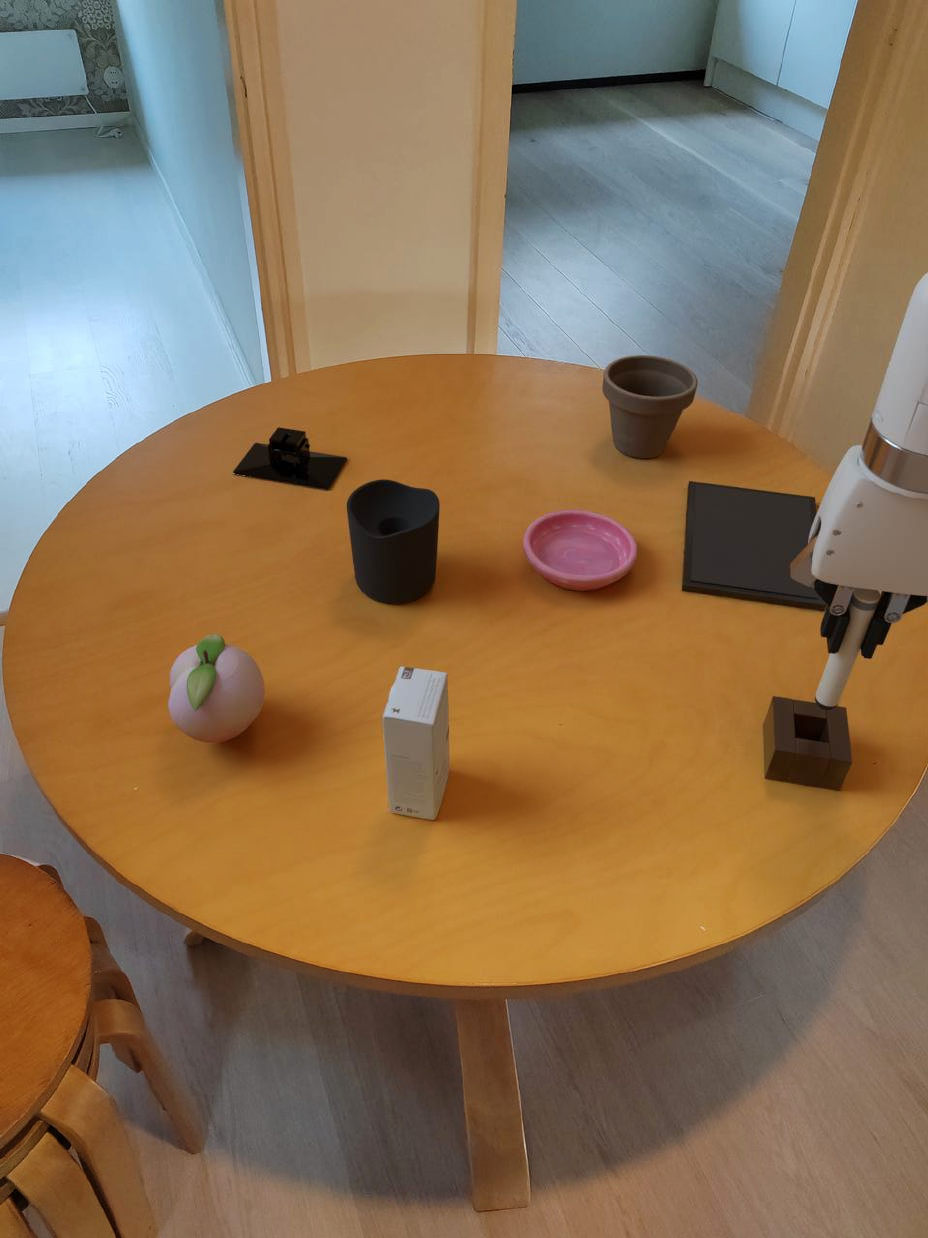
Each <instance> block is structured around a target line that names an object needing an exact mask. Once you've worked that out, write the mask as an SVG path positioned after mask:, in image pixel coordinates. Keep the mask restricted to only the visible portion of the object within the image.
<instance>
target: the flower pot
mask: <svg viewBox="0 0 928 1238" xmlns="http://www.w3.org/2000/svg"><path fill="white" fill-rule="evenodd" d="M602 378H603V379H602V394H603V395H604V397H605V399H606V400H607V401H608V406H609V415H610V427H611V434H612V435H611V436H612V441H613V446H614V447H615V448H616V450H617V451H618V452H620V453H621V454H623V455H626V456H628V457H631V458H636V459H650V458H654V457H657V456H659V455H660V454H662V452H663V451H664V450H665V448H666V447H667V444H668V443H669V441H670V439H671V437H672V435H673V432H674V431H675V428H676V427H677V424H678V422H679V420H680V418H681V415H682V413H683V411H684V410H686V409H688V408H689V407H690V406H691V405H692V404H693V402H694V399H695V397H696V392H697V388H698V383H699V381H698V378H697V375H696V374H695V373H694V372H693V371H692V370H691V368H689V367H687V366H686V365H684V364H682V363H680V362H678V361H676V360H674V359H670V358H666V357H662V356H655V355H645V354H636V355H627V356H623V357H620V358H617V359H615V360H613V361H612V362H610V363H608V364H607V366H606V367H605V369H604V371H603V377H602Z"/></svg>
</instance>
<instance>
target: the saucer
mask: <svg viewBox="0 0 928 1238" xmlns="http://www.w3.org/2000/svg"><path fill="white" fill-rule="evenodd" d="M522 550H523V554H524V556H525V558H526V560H527V562H528V563H529V564H530V566H531V567H532V568H533V569H534V570H535V571H536V573H538V574H540V575H541V576H542V577H543V578H544V579H545V580H547V581H548V582H549V583H552V584H553V585H555V586H557V587H560V588H563V589H565V590H566V589H567V590H572V591H593V590H598V589H602V588H605V587H606V586H608V585H611V584H613V583H615V582H617V581H618V580H620V579H621V578H623V577H624V576H626V575H627V574H628V573H629V572H630V571H631V570H632V568H633V567H634V566H635V563H636V560H637V556H638V545H637V541H636V539H635V537H634V535H633V534H632V533H631V531H630V530H629V529H628V528H627V527H626V526H624V525H623V524H621V523H620V522H619V521H617V520H615V519H613V518H612V517H610V516H607V515H605V514H602V513H598V512H595V511H590V510H585V509H562V510H556V511H552V512H549V513H546V514H544V515H541V516H540V517H538V518H537V519H535V520H534V521H532V522H531V523H530V524H529V526H528V527H527V528H526V530H525V532H524V534H523V540H522Z"/></svg>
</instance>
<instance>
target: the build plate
mask: <svg viewBox="0 0 928 1238" xmlns="http://www.w3.org/2000/svg"><path fill="white" fill-rule="evenodd" d="M306 433H307V432H306V431H304V430H299V429H294V428H293V429H291V428H285V427H280V426H279V427H276V429H275V431H274V432H273V433H272V434H271V436H270V437H269V438H268V442H269V443H268V444H267V443H262V442H261V443H260V442H254V443H253V445H252V446H251V447H250V449H249V450H248V451H247V452H246V454H245V455H244V456H243V457H242V459H241V460H240V462H239V463H238V464H237V466H236V467H235V468H234V470H233V471H232V472H233V473H235V474H239V475H245V476H249V477H248V478H251V477H253V478H252V479H257V478H259V479H258V480H263V479H264V480H263V481H269V480H270V482H275V483H281V484H287V485H293V486H299V487H305V488H311V489H317V490H323V491H329V490H330V489H331V488H332V486H333V485H334V482H335V481H336V479H337V478H338V476H339V474H341V471H342V470H343V468H344V467H345V465H346V463H347V461H348V457H347V456H343V455H342V456H341V455H336V454H330V453H323V452H318V451H317V452H316V451H311V450H310V448H311V444H310V441H309V437H307V434H306ZM239 475H238V476H239ZM245 476H244V477H245ZM250 476H251V477H250ZM254 477H255V478H254Z"/></svg>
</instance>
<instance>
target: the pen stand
mask: <svg viewBox="0 0 928 1238" xmlns="http://www.w3.org/2000/svg"><path fill="white" fill-rule="evenodd" d="M848 719H849V718H848V710H847V707H846V706H841V705H837V707H835V708H834V709H832V710H824V709H821V708H820V707H819V706H818V705H817V704H816V702H815V701H814V702H813V701H807V700H801V699H794V698H789V697H782V696H776V695H773V696H772V697H771V700H770V704H769V706H768V709H767V711H766V715H765V718H764V721H763V725H762V734H763V735H762V736H763V772H764V779H765V780H772V781H778V782H783V783H789V784H795V785H800V786H801V785H802V786H807V787H814V788H821V789H825V790H831V791H832V790H833V791H838V792H840V791H841V789H842V787H843V784H844V782H845V780H846V778H847V775H848V773H849V771H850V768H851V766H852V765H853V756H852V755H853V754H852V747H851V746H852V745H851V738H850V737H851V736H850V729H849V720H848Z"/></svg>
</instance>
